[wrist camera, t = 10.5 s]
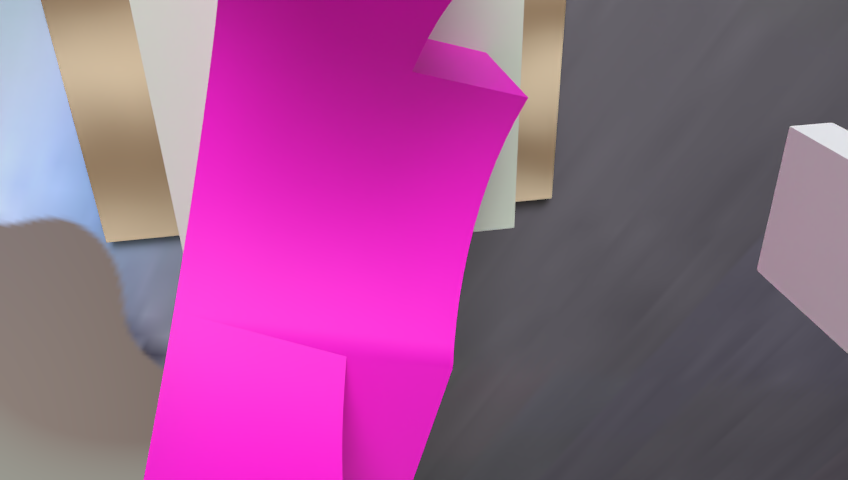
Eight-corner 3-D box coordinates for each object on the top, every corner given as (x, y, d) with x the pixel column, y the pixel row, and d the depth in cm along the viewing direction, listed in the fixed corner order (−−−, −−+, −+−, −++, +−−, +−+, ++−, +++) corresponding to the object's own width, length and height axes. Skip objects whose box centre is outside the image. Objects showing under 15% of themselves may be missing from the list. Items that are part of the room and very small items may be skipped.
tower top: (466, 147, 26) (514, 227, 21) (204, 171, 25) (185, 262, 19) (468, -140, 21) (529, -130, 16) (148, -130, 20) (104, -115, 15)
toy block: (385, 379, 22) (429, 600, 16) (173, 358, 21) (127, 595, 14) (549, -156, 16) (733, -144, 10) (261, -251, 14) (248, -316, 8)
